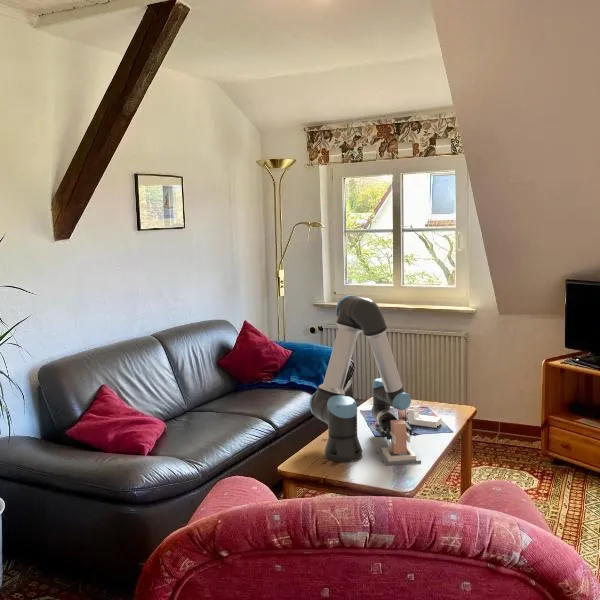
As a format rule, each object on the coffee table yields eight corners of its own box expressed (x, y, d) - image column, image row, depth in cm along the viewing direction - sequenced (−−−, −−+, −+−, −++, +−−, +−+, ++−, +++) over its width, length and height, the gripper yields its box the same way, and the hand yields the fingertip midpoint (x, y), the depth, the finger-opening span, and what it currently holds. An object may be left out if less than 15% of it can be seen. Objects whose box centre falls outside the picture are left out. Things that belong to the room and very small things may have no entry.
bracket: (408, 425, 303) (408, 409, 302) (413, 421, 309) (413, 405, 308) (436, 429, 297) (436, 413, 296) (441, 425, 303) (441, 408, 302)
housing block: (394, 453, 262) (393, 424, 260) (391, 449, 267) (390, 420, 265) (406, 452, 262) (406, 423, 260) (403, 448, 267) (402, 419, 265)
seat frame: (385, 465, 257) (385, 459, 257) (377, 452, 271) (377, 446, 270) (421, 462, 259) (420, 456, 258) (410, 450, 272) (410, 444, 272)
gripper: (408, 428, 283) (424, 447, 260) (366, 431, 281) (379, 451, 258) (408, 410, 282) (424, 428, 259) (366, 414, 280) (379, 432, 257)
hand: (402, 439), depth 258 cm, fingers closed on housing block, 5 cm apart
